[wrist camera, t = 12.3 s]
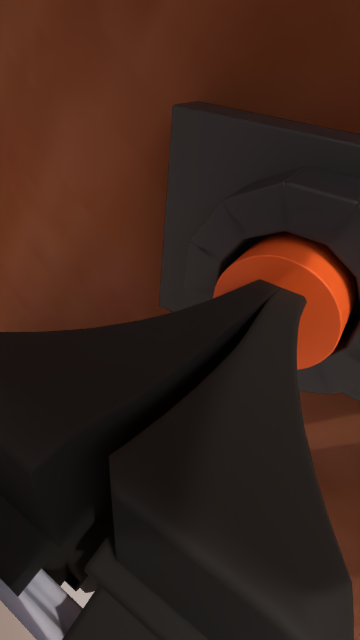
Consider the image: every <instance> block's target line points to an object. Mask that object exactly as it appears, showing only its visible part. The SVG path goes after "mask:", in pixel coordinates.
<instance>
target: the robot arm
mask: <svg viewBox="0 0 360 640" xmlns="http://www.w3.org/2000/svg"><path fill="white" fill-rule="evenodd" d="M306 303H307V301H306V299H305V297H304V296H302V295H299V294H297V293H294V292H292V291H289V290H287V289H284V288H281V287H279V286H276V285H274V284H271V283H269V282H266V281H264V280H261V279H259V280H256V281H254V282H251V283H249V284H246V285H244V286H242V287H239V288H237V289H235V290H232V291H230V292H228V293H225V294H223V295H220V296H218V297H215V298H213V299H210V300H208V301H205V302H202V303H199V304H197V305H194V306H191V307H188V308H185V309H182V310H179V311H176V312H172V313H169V314H165V315H161V316H157V317H153V318H148V319H144V320H140V321H135V322H129V323H122V324H116V325H109V326H103V327H96V328H87V329H77V330H64V331H49V332H0V600H1V601H2V602H3V603H4V605H5V606H6V607H7V608H8V609H9V610H10V611H11V612H12V613H13V614H14V615H15V617H17V619H18V620H19V621H20V622H21V623H22V624H23V625H24V626H25V627H26V628H27V630H28V631H29V632H30V633H31V634H32V635H33V636H34V637H35V638H36V639H37V640H354V616H353V593H352V581H351V578H350V575H349V572H348V570H347V567H346V564H345V561H344V559H343V556H342V553H341V551H340V548H339V545H338V543H337V540H336V537H335V534H334V531H333V528H332V525H331V522H330V519H329V516H328V513H327V510H326V507H325V504H324V501H323V497H322V494H321V491H320V487H319V484H318V481H317V478H316V474H315V470H314V466H313V462H312V458H311V453H310V449H309V445H308V441H307V437H306V433H305V428H304V422H303V417H302V411H301V404H300V397H299V388H298V375H297V341H298V329H299V323H300V317H301V315H302V313H303V310H304V308H305V305H306ZM64 581H66V582H67V583H68V584H69V585H70V586H71V587H72V588H73V589H74V590H75V591H77V590H78V589H79V588H81V589H82V590H83V591H84V592H85V593H88V592H93V591H95V592H94V593H93V595H92V596H91V598H90V599H89V601H88V602H87V604H86V605H85V607H84V608H82V607H81V606H79V604H78V603H76V601H74V600H73V599H72V598H71V597H70V596H69V595H68V594H67V593H66V592H65V591H64V590H63V589H62V588H61V587H60V586H61V585H62V583H63V582H64Z"/></svg>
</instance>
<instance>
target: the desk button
mask: <svg viewBox="0 0 360 640" xmlns="http://www.w3.org/2000/svg"><path fill="white" fill-rule="evenodd" d="M259 279H261V280H264V281H266V282H269V283H271V284H274V285H276V286H279V287H281V288H284V289H287V290H289V291H292V292H294V293H297V294H299V295H302V296H304V297H305V299H306V301H307V303H306V305H305V308H304V310H303V313H302V315H301V317H300V323H299V329H298V341H297V370H300V369H305V368H309V367H311V366H314V365H316V364H318V363H320V362H322V361H323V360H324V359H326V358H327V357H328V356H329V355H330V354H331V353H332V352H333V351H334V349H335V348H336V346H337V344H338V342H339V340H340V337H341V335H342V333H343V330H344V328H345V325H346V323H347V320H348V318H349V316H350V313H351V311H352V308H353V305H354V301H355V283H354V279H353V276H352V273H351V271H350V270H349V269H348V268H347V267H346V266H345V265H344V264H343V263H342V262H341V261H340V259H339V258H338V257H337V256H336V255H335V254H334V253H333V252H332V251H331V250H330V249H329V248H328V246H327V245H325V244H322V243H319V242H316V241H313V240H310V239H307V238H304V237H301V236H298V235H295V234H292V233H280V234H275V235H271V236H268V237H266V238H263V239H261V240H260V241H258V242H256V243H255V244H254V245H253V246H251V247H250V248H249V249H248V250H247V251H246V252H245V253H243V254H242V255H241V256H240V257H239V258H238V259H237V260H236V261H235V262H233V263H232V264H231V265H230V266H229V267H228V268H227V269H226V270H225V271H224V272H223V273H222V275H221V276H220V278H219V279H218V282H217V284H216V286H215V290H214V296H213V298H215V297H218V296H220V295H223V294H225V293H228V292H230V291H232V290H235V289H237V288H239V287H242V286H244V285H246V284H249V283H251V282H254V281H256V280H259Z"/></svg>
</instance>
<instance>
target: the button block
mask: <svg viewBox="0 0 360 640" xmlns="http://www.w3.org/2000/svg"><path fill="white" fill-rule="evenodd" d="M280 233H292V234H295V235H298V236H301V237H304V238H307V239H310V240H313V241H316V242H319V243H322V244H325V245H327V246H328V248H329V249H330V250H331V251H332V252H333V253H334V254H335V255H336V256H337V257H338V258H339V259H340V261H341V262H342V263H343V264H344V265H345V266H346V267H347V268H348V269H349V270H350V271H351V273H352V276H353V279H354V283H355V301H354V305H353V308H352V311H351V313H350V316H349V318H348V320H347V323H346V325H345V328H344V330H343V333H342V335H341V337H340V340H339V342H338V344H337V346H336V348H335V349H334V351H333V352H332V353H331V354H330V355H329V356H328V357H327V358H326V359H324V360H323V361H322V362H320V363H318V364H316V365H314V366H311V367H309V368H305V369H300V370H297V375H298V388H299V391H303V392H313V393H323V394H335V393H337V392H341V393H343V394H345V395H347V396H349V397H351V398H353V399H355V400H357V401H359V402H360V134H355V133H350V132H345V131H340V130H335V129H330V128H326V127H321V126H316V125H311V124H306V123H301V122H296V121H291V120H286V119H281V118H276V117H271V116H266V115H261V114H257V113H252V112H247V111H242V110H237V109H232V108H227V107H222V106H217V105H212V104H207V103H202V102H197V101H196V102H189V103H182V104H175V105H173V112H172V126H171V141H170V155H169V170H168V184H167V199H166V213H165V228H164V242H163V256H162V271H161V285H160V300H159V306H161V307H163V308H165V309H167V310H169V311H171V312H176V311H179V310H182V309H185V308H188V307H191V306H194V305H197V304H199V303H202V302H205V301H208V300H210V299H213V296H214V290H215V286H216V284H217V282H218V279H219V278H220V276H221V275H222V273H223V272H224V271H225V270H226V269H227V268H228V267H229V266H230V265H231V264H232V263H233V262H235V261H236V260H237V259H238V258H239V257H240V256H241V255H242V254H243V253H245V252H246V251H247V250H248V249H249V248H250V247H251V246H253V245H254V244H255V243H256V242H258V241H260V240H261V239H263V238H266V237H268V236H271V235H275V234H280Z"/></svg>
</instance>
